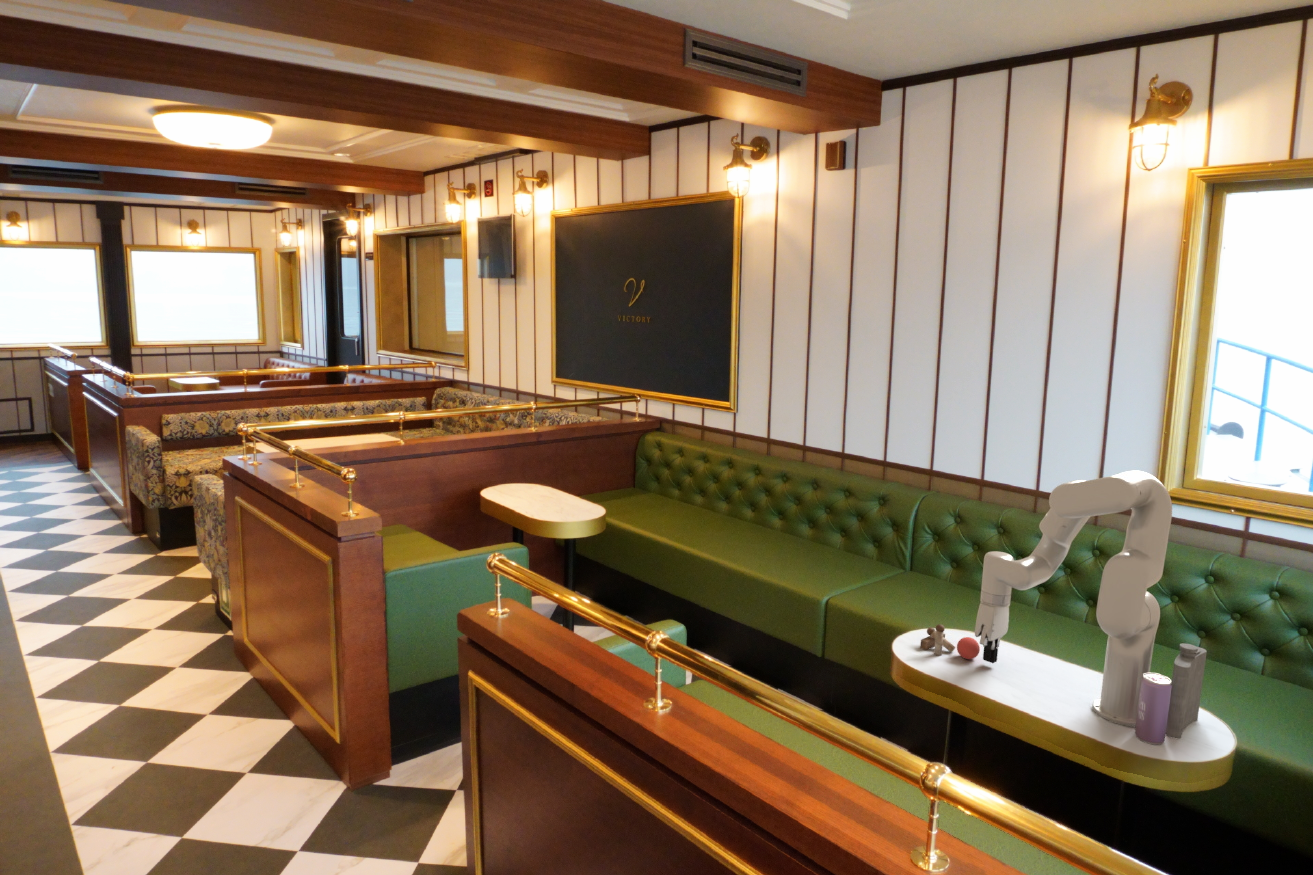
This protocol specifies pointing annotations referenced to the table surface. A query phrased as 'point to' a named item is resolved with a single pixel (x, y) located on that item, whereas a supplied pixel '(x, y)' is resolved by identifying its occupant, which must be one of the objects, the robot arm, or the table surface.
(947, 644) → the pin
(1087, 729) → the table surface
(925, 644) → the stopper wall
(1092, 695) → the table surface
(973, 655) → the ball
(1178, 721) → the hip flask
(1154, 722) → the beverage can
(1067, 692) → the table surface
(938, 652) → the pin
